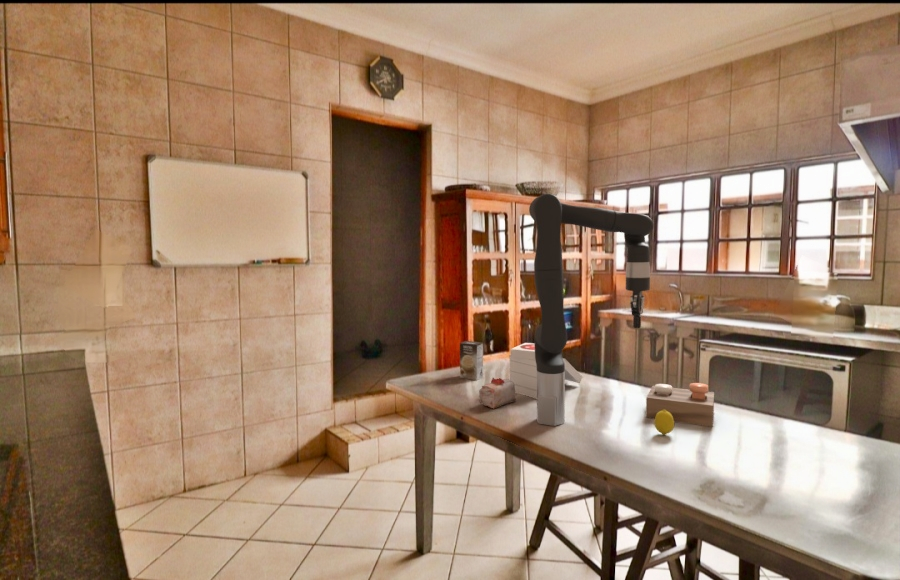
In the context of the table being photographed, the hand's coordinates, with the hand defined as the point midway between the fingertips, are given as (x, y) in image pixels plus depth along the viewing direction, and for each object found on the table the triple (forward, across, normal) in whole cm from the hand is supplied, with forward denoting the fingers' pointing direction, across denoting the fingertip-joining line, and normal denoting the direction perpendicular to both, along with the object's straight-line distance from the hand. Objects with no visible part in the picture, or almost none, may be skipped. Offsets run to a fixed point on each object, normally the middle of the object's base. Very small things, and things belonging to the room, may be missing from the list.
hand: (637, 327), depth 167 cm
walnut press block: (+31, +10, -13) cm, 35 cm away
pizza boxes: (+31, +21, +39) cm, 54 cm away
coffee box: (+31, +24, +74) cm, 84 cm away
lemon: (+31, -12, -10) cm, 35 cm away
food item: (+31, -6, +48) cm, 58 cm away
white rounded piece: (+30, +10, -8) cm, 33 cm away
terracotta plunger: (+29, +10, -18) cm, 35 cm away
